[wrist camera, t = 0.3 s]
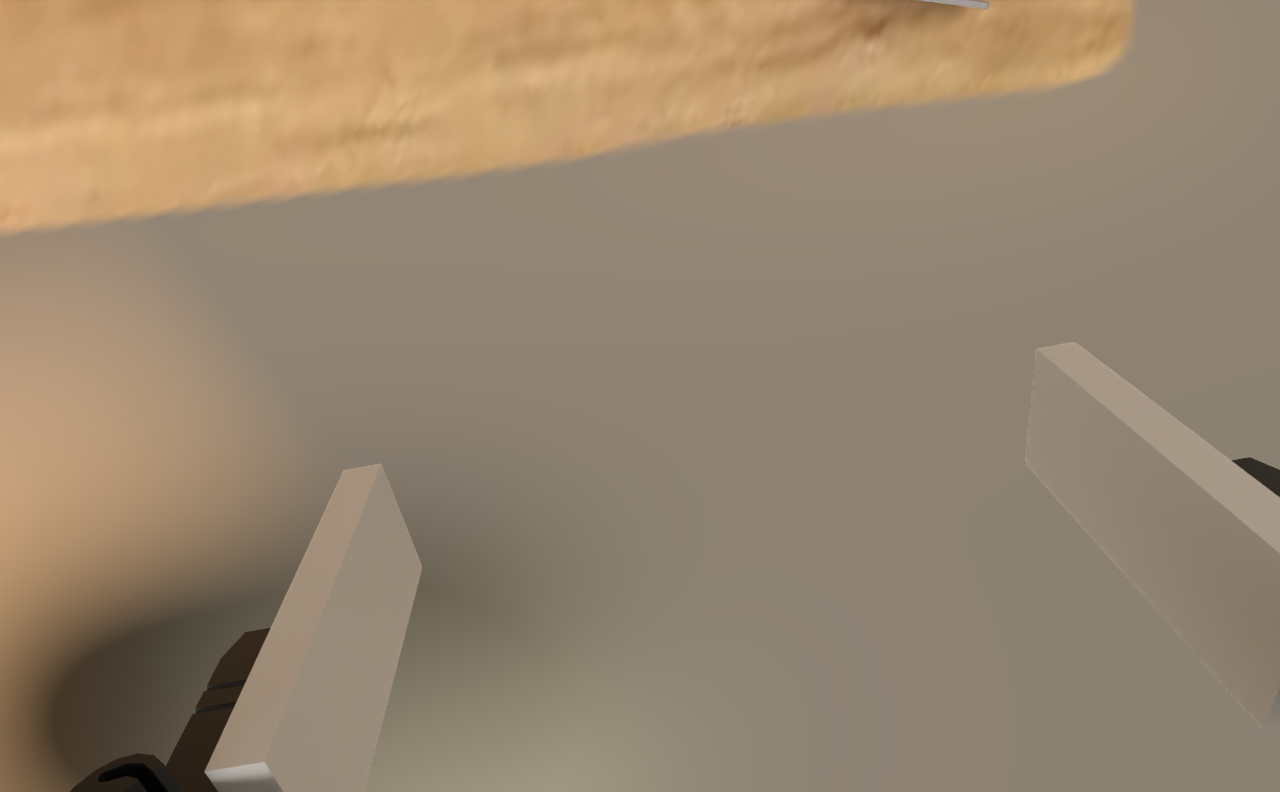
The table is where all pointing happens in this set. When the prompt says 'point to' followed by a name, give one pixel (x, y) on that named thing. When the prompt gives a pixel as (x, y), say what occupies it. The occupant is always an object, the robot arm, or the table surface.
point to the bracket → (963, 3)
